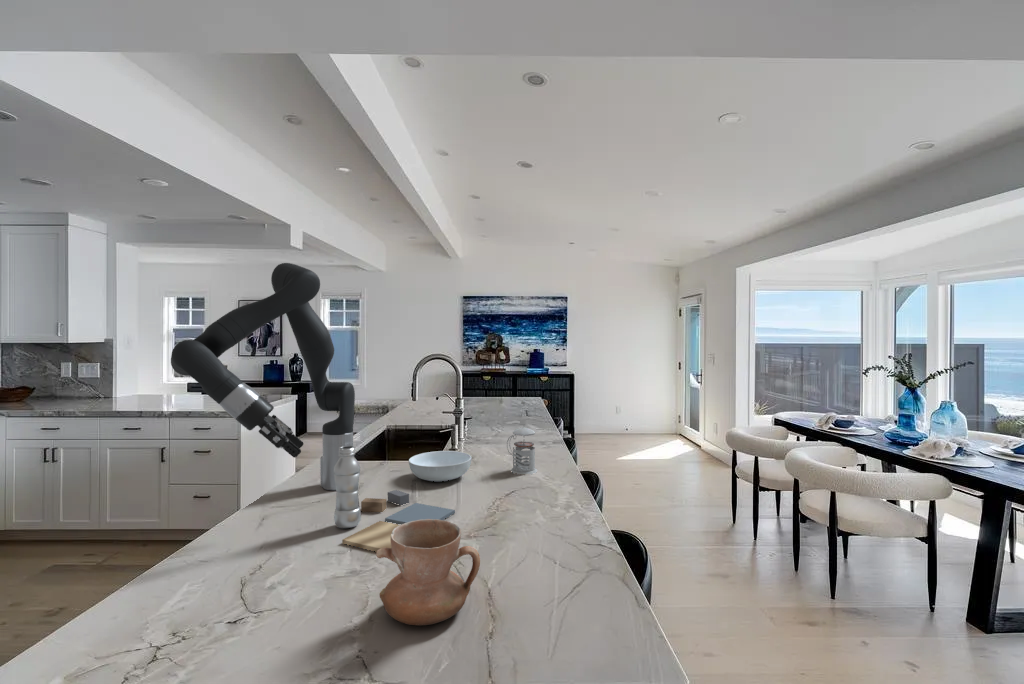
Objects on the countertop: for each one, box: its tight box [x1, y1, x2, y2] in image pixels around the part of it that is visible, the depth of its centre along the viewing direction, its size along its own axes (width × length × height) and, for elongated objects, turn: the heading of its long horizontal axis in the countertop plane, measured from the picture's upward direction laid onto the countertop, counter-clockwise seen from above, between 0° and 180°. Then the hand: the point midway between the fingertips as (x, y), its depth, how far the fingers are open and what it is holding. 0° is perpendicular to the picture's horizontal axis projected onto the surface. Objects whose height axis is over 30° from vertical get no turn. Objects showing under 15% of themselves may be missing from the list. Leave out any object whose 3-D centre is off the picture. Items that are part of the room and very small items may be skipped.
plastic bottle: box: [333, 445, 362, 529], centre depth 127 cm, size 6×7×20 cm
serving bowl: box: [408, 450, 472, 483], centre depth 170 cm, size 21×21×7 cm
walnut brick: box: [360, 497, 387, 513], centre depth 139 cm, size 6×3×3 cm, turn 82°
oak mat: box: [341, 520, 399, 553], centre depth 120 cm, size 13×13×1 cm
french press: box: [506, 400, 538, 475], centre depth 179 cm, size 10×12×25 cm
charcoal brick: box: [387, 489, 410, 506], centre depth 145 cm, size 6×3×3 cm, turn 49°
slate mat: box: [384, 502, 456, 524], centre depth 133 cm, size 13×13×1 cm
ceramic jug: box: [375, 519, 481, 626], centre depth 89 cm, size 18×14×14 cm
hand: (299, 450), depth 123 cm, fingers open, 8 cm apart
